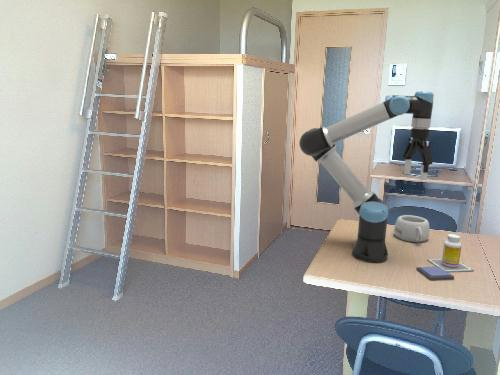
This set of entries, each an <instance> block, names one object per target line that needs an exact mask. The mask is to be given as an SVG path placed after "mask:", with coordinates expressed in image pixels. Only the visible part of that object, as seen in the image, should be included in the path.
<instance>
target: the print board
mask: <svg viewBox="0 0 500 375" xmlns="http://www.w3.org/2000/svg"><path fill="white" fill-rule="evenodd" d="M426 261H427V262H429V263H430V264H432V265H433V266H434V267H435V266H439V267H441V268H442V269H444V270H445V271H447V272H448V273H463V272H464V273H467V272H468V273H469V272H475V270H474V269H472V268H471V267H469V266H467V265H466V264H464V263H463V262H461V261H459V266H458V267H448V266H445V265H443V264H442V258H433V259H432V258H431V259H430V258H428V259H426Z"/></svg>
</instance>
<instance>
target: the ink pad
mask: <svg viewBox="0 0 500 375" xmlns="http://www.w3.org/2000/svg"><path fill="white" fill-rule="evenodd" d="M415 271H417V272H418V273H420V274H421V275H422V276H424V277H425V278H426V279H428V280H429V281H449V280H454V279H455V276H454V275H453V274H451V272H447V271H445V270H444V269H442V268H441V267H439V266H435V265H434V266H418V267H416V269H415Z"/></svg>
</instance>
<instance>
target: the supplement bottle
mask: <svg viewBox="0 0 500 375" xmlns="http://www.w3.org/2000/svg"><path fill="white" fill-rule="evenodd" d="M460 239H461V236H460V235H458V234H454V233H449V234H447V239H446V240H445V241H444V243H443V249H442V255H441V259H442V264H443V265H445V266H448V267H458V266H459V262H460V260H461V259H460V258H461V254H462V243H461V242H460Z"/></svg>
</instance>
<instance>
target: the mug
mask: <svg viewBox="0 0 500 375" xmlns="http://www.w3.org/2000/svg"><path fill="white" fill-rule="evenodd" d="M393 233H394V236H396V238H398V239H399V240H402V241H405V242H412V243H422V242H426V241H427V240H429V237H430V222H429V221H428V219H426V218H424V217H422V216H417V215H410V214H403V215H400V216H398V217H397V218H396V221H395V224H394V229H393Z"/></svg>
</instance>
